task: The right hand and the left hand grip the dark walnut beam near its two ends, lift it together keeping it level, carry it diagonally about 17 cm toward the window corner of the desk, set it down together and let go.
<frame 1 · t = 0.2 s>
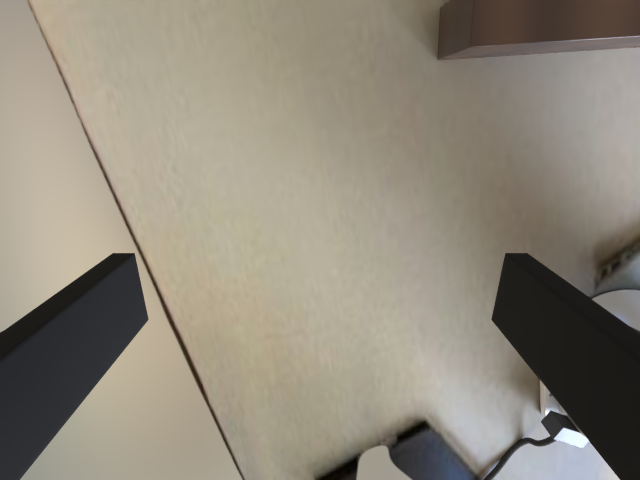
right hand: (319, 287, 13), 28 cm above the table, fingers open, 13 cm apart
beam: (585, 24, 33), on the table
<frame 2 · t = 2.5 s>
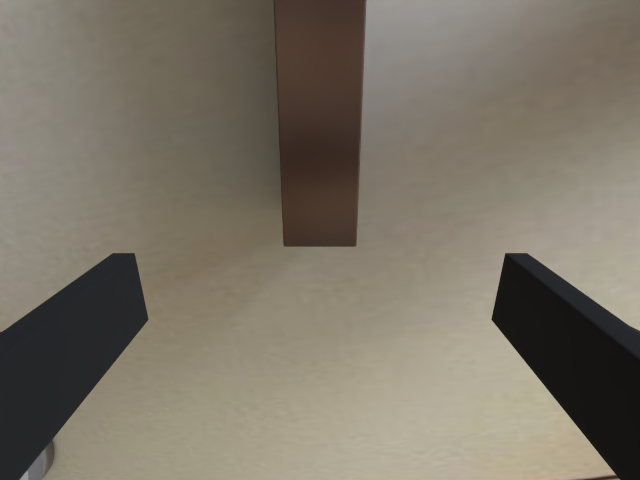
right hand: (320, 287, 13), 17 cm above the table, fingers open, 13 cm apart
beam: (319, 14, 24), on the table
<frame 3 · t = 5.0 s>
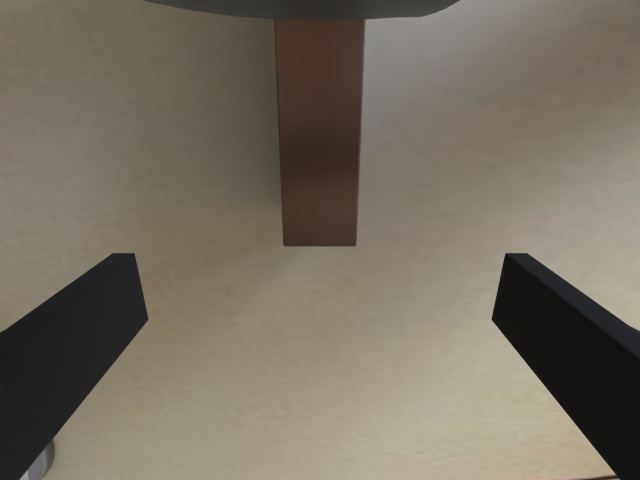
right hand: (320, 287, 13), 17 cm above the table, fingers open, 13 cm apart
beam: (319, 13, 24), on the table, touching left hand
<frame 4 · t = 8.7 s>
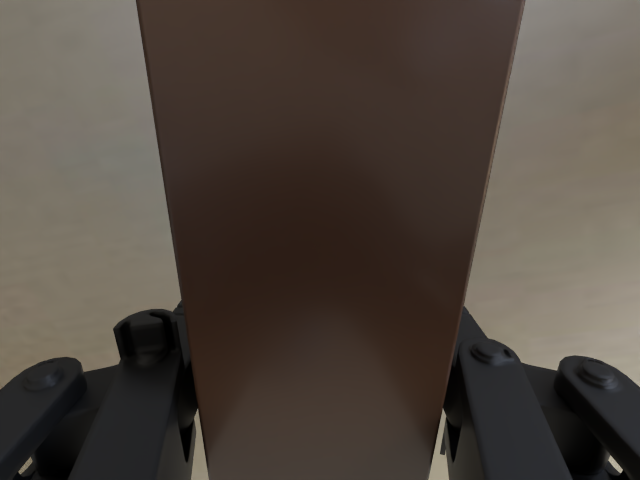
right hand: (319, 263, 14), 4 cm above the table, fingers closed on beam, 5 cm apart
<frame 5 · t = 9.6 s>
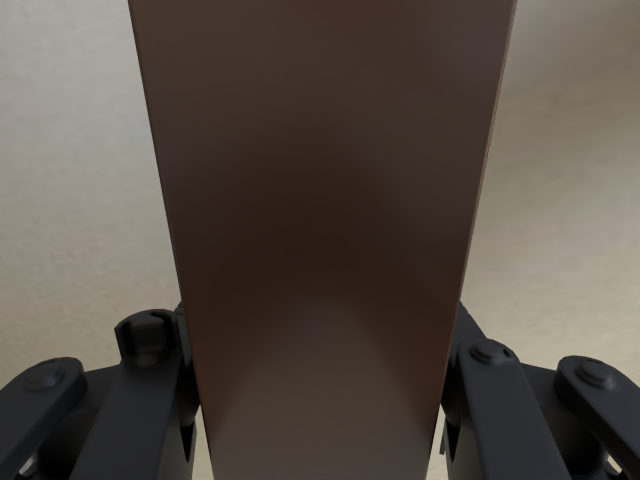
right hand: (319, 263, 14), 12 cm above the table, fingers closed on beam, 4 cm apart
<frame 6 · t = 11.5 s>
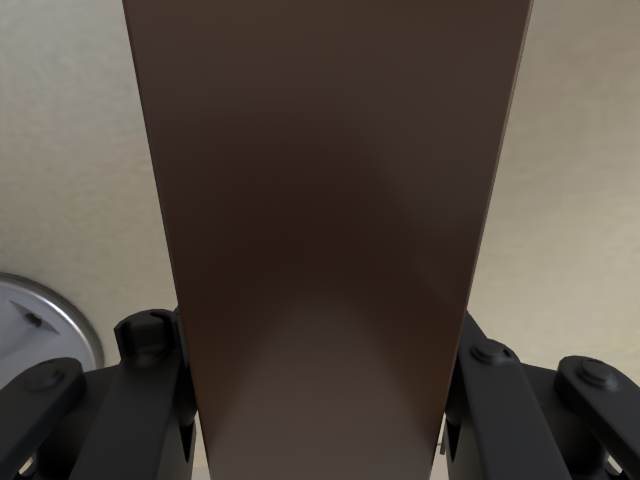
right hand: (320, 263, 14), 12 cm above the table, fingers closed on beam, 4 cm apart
when the right hand's fingers open (0 cm above the table, at t = 14.5 s): beam stays where it is, on the table.
when the left hand's fingers open (5 cm above the table, at t = 14.6 s): beam stays where it is, on the table.
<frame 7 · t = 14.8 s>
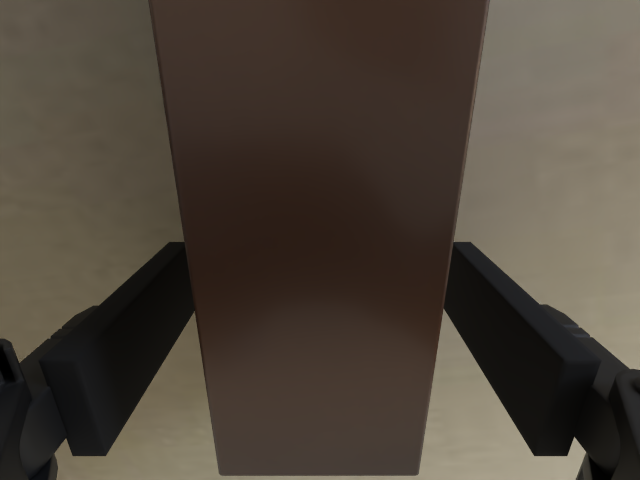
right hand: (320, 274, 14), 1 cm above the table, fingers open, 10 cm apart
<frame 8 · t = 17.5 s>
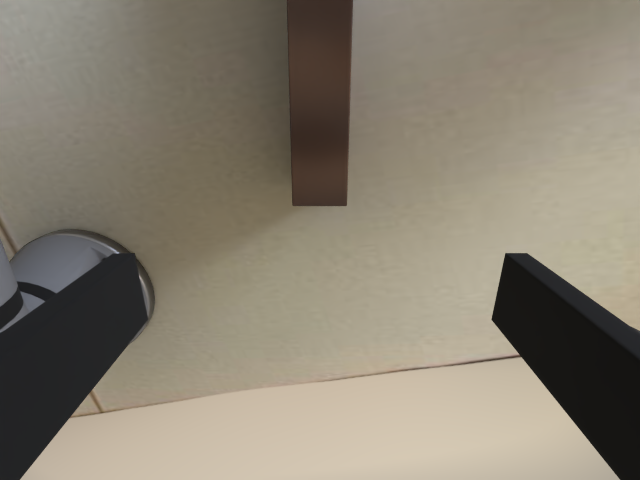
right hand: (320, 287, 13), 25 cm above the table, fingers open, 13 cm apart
beam: (319, 31, 31), on the table
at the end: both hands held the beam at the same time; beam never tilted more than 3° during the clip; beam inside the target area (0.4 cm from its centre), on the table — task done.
